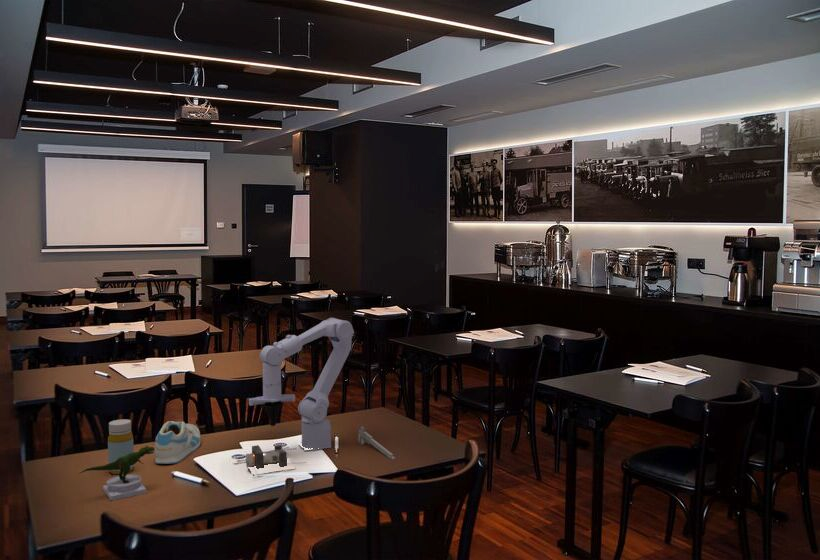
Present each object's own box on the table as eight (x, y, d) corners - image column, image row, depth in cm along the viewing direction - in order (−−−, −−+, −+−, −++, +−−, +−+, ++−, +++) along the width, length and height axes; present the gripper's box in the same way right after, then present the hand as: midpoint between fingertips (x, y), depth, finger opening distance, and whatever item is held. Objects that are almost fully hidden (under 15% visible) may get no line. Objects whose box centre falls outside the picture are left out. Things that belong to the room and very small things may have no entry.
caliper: (358, 443, 231) (358, 425, 230) (360, 443, 231) (360, 425, 231) (392, 460, 215) (392, 441, 214) (395, 459, 215) (395, 440, 215)
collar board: (288, 459, 214) (288, 440, 213) (295, 469, 206) (295, 449, 205) (246, 465, 209) (246, 446, 208) (252, 475, 201) (252, 455, 200)
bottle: (139, 468, 206) (137, 420, 205) (122, 476, 200) (120, 426, 199) (120, 465, 209) (119, 417, 207) (103, 473, 202) (101, 424, 201)
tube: (281, 460, 211) (281, 447, 210) (284, 464, 207) (284, 451, 206) (245, 465, 206) (245, 452, 206) (248, 469, 202) (248, 456, 202)
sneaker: (206, 438, 235) (205, 408, 235) (184, 466, 209) (183, 431, 208) (176, 439, 235) (176, 408, 234) (150, 466, 208) (149, 432, 208)
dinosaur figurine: (160, 490, 189) (159, 449, 189) (82, 507, 178) (80, 464, 177) (151, 480, 197) (149, 441, 196) (75, 496, 185) (73, 454, 184)
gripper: (251, 388, 210) (252, 431, 211) (297, 384, 216) (297, 425, 217) (247, 383, 217) (248, 424, 218) (292, 379, 222) (292, 419, 223)
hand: (272, 425), depth 218 cm, fingers closed
